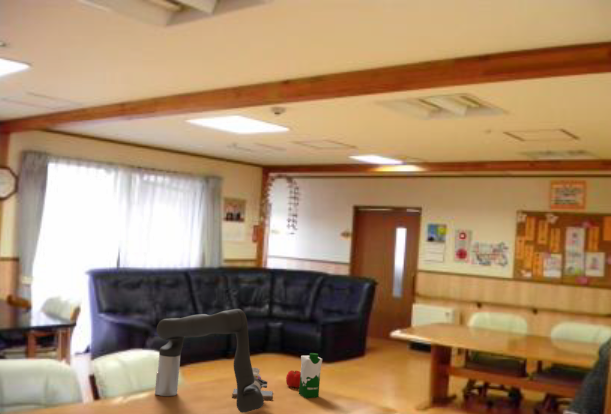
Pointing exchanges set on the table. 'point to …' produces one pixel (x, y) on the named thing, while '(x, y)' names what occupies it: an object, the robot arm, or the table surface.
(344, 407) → the table surface
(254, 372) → the supplement bottle
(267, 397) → the rail
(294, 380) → the tomato
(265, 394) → the mat
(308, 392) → the milk carton
